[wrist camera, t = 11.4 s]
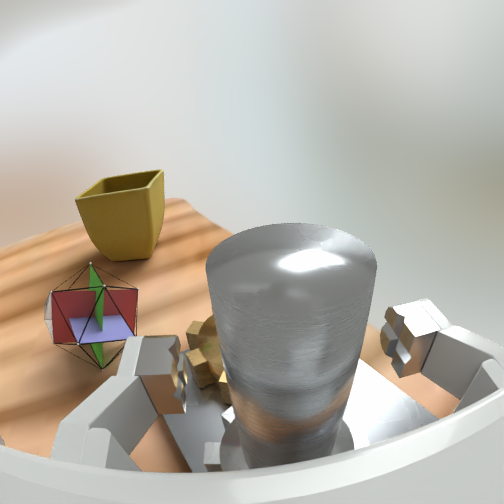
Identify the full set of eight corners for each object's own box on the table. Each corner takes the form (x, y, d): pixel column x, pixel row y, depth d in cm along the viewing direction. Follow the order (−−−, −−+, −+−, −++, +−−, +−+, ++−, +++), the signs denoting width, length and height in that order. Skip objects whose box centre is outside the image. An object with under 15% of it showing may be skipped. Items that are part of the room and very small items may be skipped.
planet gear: (295, 556, 7) (349, 495, 2) (182, 466, 12) (81, 270, 7) (386, 447, 12) (472, 242, 6) (278, 388, 16) (271, 190, 11)
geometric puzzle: (142, 283, 26) (70, 234, 20) (179, 322, 21) (88, 266, 15) (100, 346, 25) (25, 308, 19) (127, 396, 20) (32, 360, 14)
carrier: (292, 604, 6) (298, 611, 4) (146, 378, 19) (129, 339, 17) (465, 455, 11) (497, 420, 9) (291, 317, 24) (292, 278, 22)
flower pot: (162, 266, 33) (147, 186, 29) (92, 272, 32) (72, 198, 28) (174, 234, 41) (164, 168, 37) (114, 240, 40) (101, 178, 36)
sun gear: (228, 438, 15) (218, 399, 13) (177, 358, 21) (165, 314, 19) (333, 379, 18) (341, 334, 16) (267, 320, 24) (266, 277, 22)
